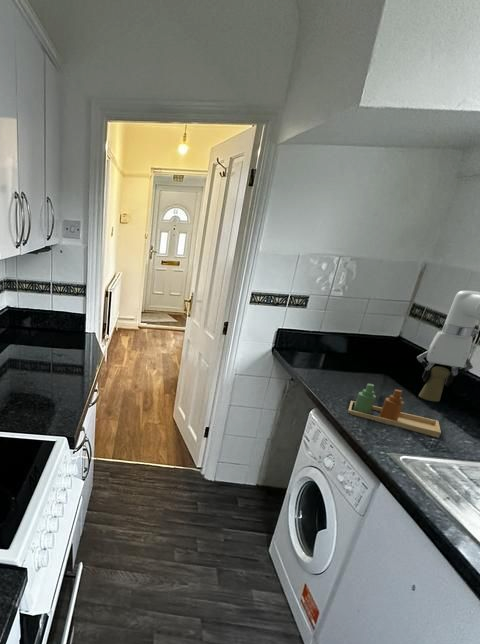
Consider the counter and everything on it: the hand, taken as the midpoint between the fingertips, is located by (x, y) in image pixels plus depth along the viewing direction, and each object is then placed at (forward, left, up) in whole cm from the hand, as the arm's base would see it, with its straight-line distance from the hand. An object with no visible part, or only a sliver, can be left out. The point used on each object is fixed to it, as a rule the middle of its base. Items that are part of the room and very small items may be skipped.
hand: (435, 382), depth 140 cm
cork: (0, 0, -6) cm, 6 cm away
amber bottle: (+9, 0, -16) cm, 19 cm away
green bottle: (+17, 0, -16) cm, 24 cm away
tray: (+8, 0, -17) cm, 19 cm away
